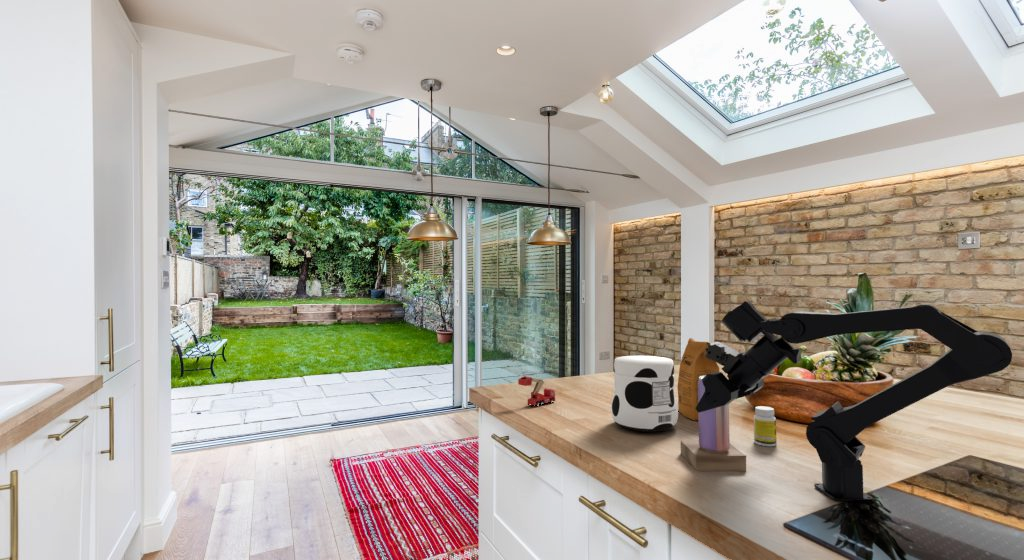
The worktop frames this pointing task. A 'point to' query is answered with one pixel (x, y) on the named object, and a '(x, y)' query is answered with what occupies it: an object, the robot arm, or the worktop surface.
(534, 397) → the toy fire truck
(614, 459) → the worktop surface
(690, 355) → the coffee package
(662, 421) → the milk container
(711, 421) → the beverage can
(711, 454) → the walnut base brick
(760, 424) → the supplement bottle
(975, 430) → the worktop surface
